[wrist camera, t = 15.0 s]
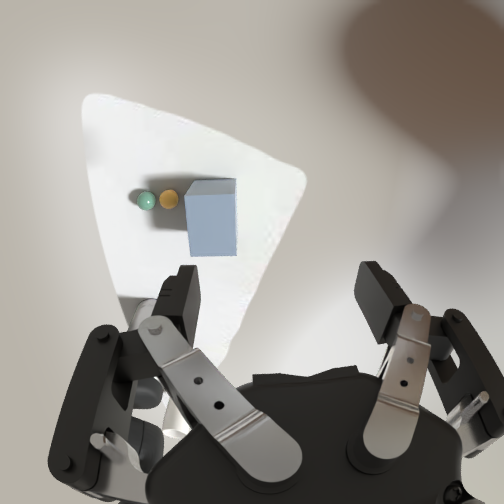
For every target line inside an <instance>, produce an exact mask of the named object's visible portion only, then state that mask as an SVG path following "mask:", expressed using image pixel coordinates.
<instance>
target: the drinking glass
mask: <svg viewBox="0 0 504 504" xmlns="http://www.w3.org/2000/svg"><path fill="white" fill-rule="evenodd" d="M189 427H190V426H189V425H188V424H187V422H186V421H185V419H184V418H183V416H182V415H181V413H180V412H179V410H178V408H177V407H176V405H175V404H174V402H173V401H172V399H171V398H169V402H168V405H167V409H166V413H165V416H164V420H163V428H162V432H163V434H165V435H166V436H169V437H172V438H177V439H183V438H184V437H185V436H186V435H187V434H188V433H189Z"/></svg>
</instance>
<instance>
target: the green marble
mask: <svg viewBox="0 0 504 504" xmlns="http://www.w3.org/2000/svg"><path fill="white" fill-rule="evenodd" d="M137 204H138V206H139V208H140V209H142V210H150V209H152V208H153V206H154V205H155V196H154V195H153V194H152V193H151V192H148V191H145V192H142V193H141V194H140V195H139V196H138V198H137Z"/></svg>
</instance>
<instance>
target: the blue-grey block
mask: <svg viewBox="0 0 504 504" xmlns="http://www.w3.org/2000/svg"><path fill="white" fill-rule="evenodd" d="M184 199H185V210H186V220H187V229H188V238H189V247H190V255H191V257H193V256H237V197H236V179H212V180H194V182H193V183H192V185H191V186H190V188H189V189H188V191H187V192H186V194H185V195H184Z"/></svg>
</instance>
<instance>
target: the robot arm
mask: <svg viewBox="0 0 504 504" xmlns="http://www.w3.org/2000/svg"><path fill="white" fill-rule="evenodd" d="M354 295H355V298H356V301H357V303H358V305H359V307H360V309H361V310H362V313H363V315H364V317H365V319H366V320H367V323H368V325H369V327H370V329H371V331H372V333H373V335H374V337H375V339H376V341H377V343H378V344H384V343H387V344H388V347H387V349H386V351H385V354H384V357H383V360H382V362H381V365H380V368H379V370H378V373H377V375H376V376H373V375H370V374H366V373H360V372H359V371H358V369H357V366H356V365H354V366H348V367H340V368H333V369H330V370H327V371H324V372H322V373H319V374H315V375H313V376H309V377H304V376H295V375H288V374H281V373H278V374H277V373H276V374H253V382H251V383H247V384H244V385H242V386H239V387H237V388H235V387H234V386H233V385H232V384H231V383H230V382H229V381H228V380H227V379H226V378H225V377H224V376H223V375H222V374H221V373H220V372H219V371H218V369H217V368H216V367H215V366H214V365H213V364H212V362H211V361H210V360H209V359H208V358H207V357H206V356H205V355H204V353H203V352H202V351H201V350H200V349H198V348H195V349H193V344H194V338H195V332H196V326H197V320H198V314H199V309H200V302H201V294H200V286H199V278H198V270H197V266H196V265H181V266H180V268H179V271H178V274H177V276H169V277H168V278H167V279H166V280H165V281H164V282H163V285H162V287H161V291H160V293H159V297H158V298H157V300H156V299H148V300H144V301H143V302H141V303H140V304H139V305H138V307H137V309H136V312H135V314H134V316H133V319H132V321H131V323H130V326H129V328H128V331H127V332H122V333H119V331H118V329H117V328H116V327H115V326H113V325H101V326H99V327H97V328H95V329H94V330H93V331H92V332H91V333H90V334H89V337H88V339H87V341H86V344H85V346H84V348H83V351H82V353H81V356H80V358H79V361H78V363H77V366H76V368H75V371H74V374H73V376H72V379H71V382H70V384H69V387H68V390H67V393H66V396H65V399H64V402H63V405H62V408H61V412H60V415H59V418H58V422H57V425H56V428H55V432H54V435H53V440H52V443H51V447H50V451H49V456H48V467H49V470H50V472H51V474H52V475H53V476H54V477H55V478H56V479H57V480H59V481H60V482H62V483H64V484H66V485H68V486H70V487H71V488H72V489H74V490H76V491H78V492H80V493H83V494H85V495H87V496H89V497H92V498H97V499H99V500H101V501H105V502H112V501H115V500H119V501H120V502H119V503H118V504H485V503H484V502H482V501H480V500H478V499H476V498H474V497H473V496H471V495H470V494H469V493H468V492H467V491H466V490H465V489H464V487H463V484H462V481H461V460H462V457H466V458H473V457H475V456H476V455H477V454H479V453H480V452H482V451H483V450H484V449H486V448H487V447H488V446H490V445H491V444H493V443H494V442H495V441H497V440H498V439H499V438H500V437H502V436H503V435H504V377H503V375H502V373H501V371H500V370H499V368H498V366H497V364H496V363H495V361H494V359H493V357H492V356H491V354H490V353H489V351H488V349H487V348H486V346H485V344H484V343H483V341H482V339H481V338H480V336H479V335H478V333H477V332H476V331H475V329H474V327H473V326H472V325H471V323H470V321H469V320H468V319H467V317H466V316H465V315H464V314H463V313H462V312H461V311H459V310H456V309H448V310H446V311H445V313H444V315H443V317H436V316H431V315H430V313H429V311H428V310H427V309H426V308H424V307H423V306H421V305H418V304H413V303H412V302H411V301H410V300H409V298H408V297H407V295H406V294H405V292H404V291H403V289H402V288H401V287H400V285H399V284H398V283H397V281H396V280H395V279H394V277H393V276H392V275H391V274H389V273H388V272H387V271H385V270H382V268H381V267H380V265H379V264H378V263H377V262H376V261H363V262H361V264H360V266H359V270H358V275H357V279H356V283H355V289H354ZM453 349H455V351H456V353H457V355H458V357H459V359H460V366H459V368H457V366H456V365H455V363H454V361H453V359H452V357H451V355H450V354H451V352H452V350H453ZM427 368H428V370H429V372H430V375H431V377H432V379H433V381H434V384H435V386H436V389H437V391H438V393H439V396H440V398H441V400H442V403H443V406H444V408H445V411H446V413H447V422H446V421H444V420H442V419H441V418H439V417H438V416H436V415H435V414H433V413H431V412H430V411H428V410H427V409H425V408H424V407H422V406H421V405H419V402H420V398H421V394H422V390H423V386H424V382H425V377H426V372H427ZM163 389H165V390H166V392H167V393H168V395H169V396H170V398H171V399H172V401H173V402H174V404H175V405H176V407H177V408H178V410H179V412H180V413H181V415H182V416H183V418H184V419H185V421H186V422H187V424H188V425H189V426H190V428H191V429H192V430H191V431H190V432H189V433H188V434H187V435H186V436H185V437H184V438H183V439H182V440H181V441H180V442H179V443H178V444H177V445H175V446H174V447H173V448H172V449H171V450H170V451H169V452H168V453H167V454H166V455H165V456H164V457H163V449H164V437H163V432H162V430H161V429H160V428H159V427H158V426H156V425H153V424H151V423H149V422H146V421H143V420H141V419H138V418H135V417H132V410H133V409H151V408H154V407H156V406H158V405H159V403H160V402H161V399H162V395H163Z"/></svg>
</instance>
